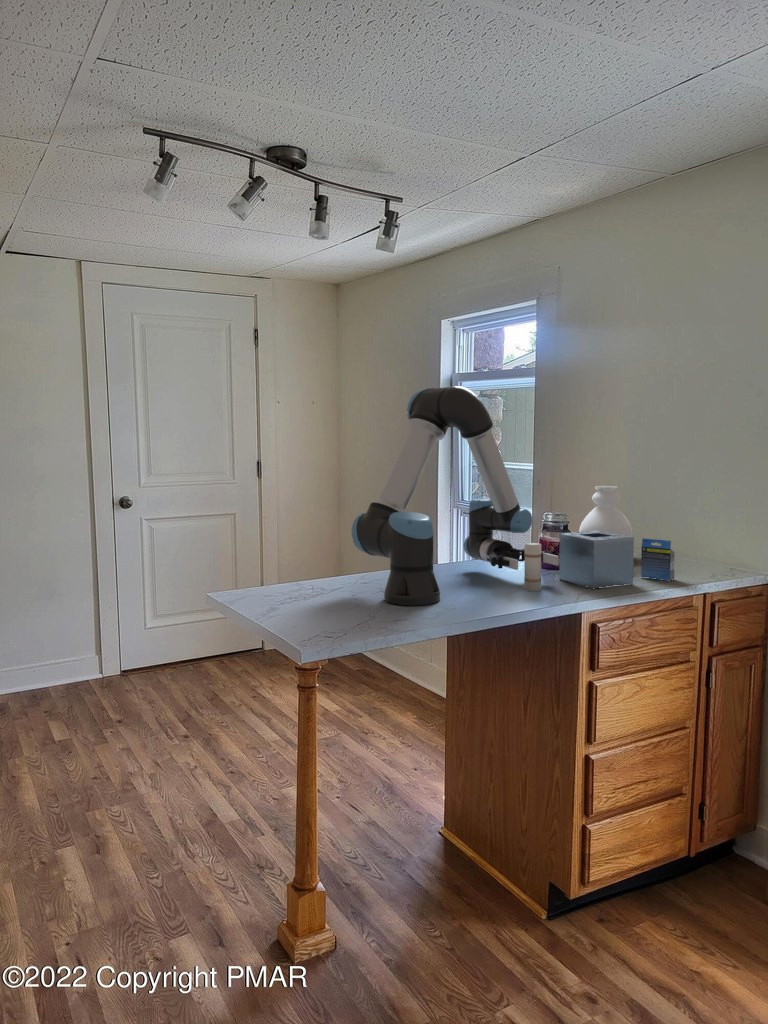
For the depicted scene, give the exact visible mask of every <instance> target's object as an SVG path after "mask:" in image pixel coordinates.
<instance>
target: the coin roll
mask: <svg viewBox="0 0 768 1024" xmlns="http://www.w3.org/2000/svg"><path fill="white" fill-rule="evenodd" d="M524 549H525V553H524V556H525V561H524V576H523V578H524V591H527V590H528V592H539V591H538V590H540V591H541V590H542V561H541V551H542V544H541V543H538V542H537V543H536V542H528V543H524Z"/></svg>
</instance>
